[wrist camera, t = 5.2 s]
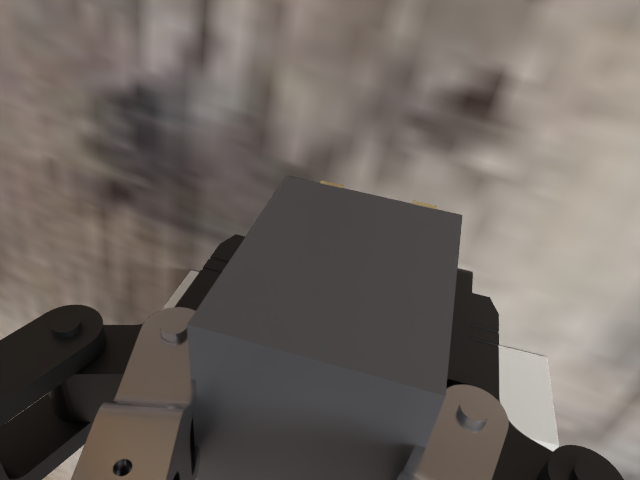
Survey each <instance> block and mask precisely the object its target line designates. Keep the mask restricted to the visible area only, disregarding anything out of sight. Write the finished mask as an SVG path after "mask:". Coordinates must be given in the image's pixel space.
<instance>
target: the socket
mask: <svg viewBox="0 0 640 480" xmlns="http://www.w3.org/2000/svg"><path fill="white" fill-rule="evenodd" d="M198 274H199V272H196V271H192V270H191V271H190V272H189V273H188V275H187V276H186V278H185V279H184V280H183V282H182V283H181V284H180V286H179V287H178V288H177V290H176V291H175V292H174V294H173V295H172V296H171V298H170V299H169V300H168V302H167V303H166V304H165V306H164V307H163V308H162V310H163V309H167V308H172V307H175V305H176V304H177V303H178V301H179V300H180V298H181V297H182V296H183V294H184V293H185V292H186V290H187V289H188V287H189V286H190V285H191V283H192V282H193V280H194V279H195V278H196V276H197V275H198ZM498 347H499V398H500V404H501V405H502V406H503V408H504V409H505V411H506V414H507V417H508V420H509V421H510V422H511V423H512V424H513V425H514V426H515V427H516V428H517V429H518V430H519V431H520V432H521V433H523V434H524V435H526V436H527V437H529V438H530V439H532V440H534V441H535V442H537V443H539V444H541V445H542V446H544V447H546V448H548V449H549V450H551V451H554V450H555V449H557V448H558V447H559V442H558V434H557V427H556V419H555V411H554V404H553V396H552V389H551V381H550V374H549V366H548V358H547V357H544V356H540V355H536V354H532V353H528V352H524V351H520V350H516V349H512V348H507V347H503V346H499V345H498ZM196 480H197V479H196Z"/></svg>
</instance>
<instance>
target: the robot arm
mask: <svg viewBox="0 0 640 480" xmlns="http://www.w3.org/2000/svg"><path fill="white" fill-rule="evenodd" d="M244 238H245V237H244V236H240V235H234V236H232V237H231V238H229V239H227V240H226V241H224V242H222V243H221V244H220V245H219V246H218V247H217V249H216V250H215V251H214V253H213V254H212V256H211V258H210V259H209V260H208V261H207V263H206V264H205V265H204V267H203V270H201V271H200V272H199V274H198V275H197V276H196V278H195V279H194V280H193V282H192V283H191V285H190V286H189V287H188V289H187V290H186V292H185V293H184V294H183V296H182V297H181V298H180V300H179V301H178V303H177V304H176V305H175V307H172V308H167V309H163V310H160V311H158V312H156V313H154V314H152V315H151V316H150V317H149V318H147V319H146V321H145V322H144V323H143V324H141V325H103V320H102V317H101V315H100V314H99V313H98V312H97V311H96V310H94V309H93V308H90V307H88V306H83V305H67V306H62V307H59V308H56V309H53V310H51V311H49V312H47V313H45V314H44V315H42V316H40V317H39V318H37V319H35V320H34V321H32V322H30V323H28V324H27V325H25V326H23V327H22V328H20V329H18V330H17V331H15V332H13V333H12V334H10V335H8V336H7V337H5V338H3V339H2V340H0V480H42V479H43V478H44V477H46V476H47V475H48V474H49V473H50V472H52V471H53V470H54V469H55V468H56V467H58V466H59V465H60V464H61V463H62V462H64V461H65V460H66V459H67V458H69V457H70V456H71V455H72V454H73V453H75V452H76V451H77V450H78V449H79V448H81V447H82V446H83V445H84V444H85V445H84V448H83V450H82V453H81V455H80V458H79V460H78V463H77V465H76V468H75V471H74V473H73V476H72V478H71V480H196V479H197V474H198V469H199V464H200V447H199V446H196V445H195V443H194V427H193V412H194V408H195V404H196V399H197V388H196V380H193V379H190V364H189V348H188V332H187V324H188V322H189V321H190V319H191V318H192V316H193V315H194V313H195V312H196V310H197V309H198V307H199V306H200V304H201V303H202V301H203V300H204V298H205V297H206V295H207V294H208V292H209V291H210V289H211V288H212V286H213V285H214V283H215V282H216V280H217V279H218V277H219V276H220V274H221V273H222V271H223V270H224V268H225V267H226V265H227V264H228V262H229V261H230V259H231V258H232V256H233V255H234V253H235V252H236V250H237V249H238V247H239V246H240V244H241V243H242V241H243V240H244ZM472 279H473V273H472V272H471V271H467V270H463V269H459V268H457V278H456V289H455V300H454V311H453V321H452V332H451V343H450V354H449V365H448V376H447V386H446V396H445V399H444V402H443V404H442V407H441V409H440V412H439V415H438V417H437V420H436V422H435V425H434V428H433V430H432V433H431V436H430V438H429V441H428V443H427V446H426V448H425V447H421V446H418V445H416V446H415V448H414V450H413V452H412V454H411V456H410V458H409V460H408V462H407V464H406V466H405V468H404V470H403V472H402V471H401V473H400V474H399V476H398V478H397V480H624V479H623V478H622V476H621V475H620V473H619V472H618V471H617V469H616V468H615V467H614V466H613V465H612V464H611V463H610V462H609V461H608V460H606V459H605V458H604V457H603V456H601V455H599V454H598V453H596V452H594V451H592V450H590V449H587V448H585V447H581V446H577V445H565V446H562V447H559V448H557V449H555V450H554V451H551V450H549V449H548V448H546V447H544V446H542V445H541V444H539V443H537V442H535V441H534V440H532V439H530V438H529V437H527V436H526V435H524V434H523V433H521V432H520V431H519V430H518V429H517V428H516V427H515V426H514V425H513V424H512V423H511V422H510V421H509V420H508V417H507V414H506V411H505V409H504V408H503V406H502V405H501V404H500V398H499V347H498V345H499V334H498V331H499V314H498V312H497V310H496V308H495V306H494V305H493V303H492V301H491V299H490V297H486V296H482V295H478V294H474V293H472ZM47 393H48V394H47ZM44 395H45V396H44ZM43 396H44V397H43ZM40 398H41V399H40ZM37 400H38V401H37ZM36 401H37V402H36ZM33 403H34V404H33ZM30 405H31V406H30ZM29 406H30V407H29ZM26 408H27V409H26ZM23 410H24V411H23ZM22 411H23V412H22ZM20 412H21V413H20ZM19 413H20V414H19ZM16 415H17V416H16ZM15 416H16V417H15ZM13 417H14V418H13ZM12 418H13V419H12ZM9 420H10V421H9ZM8 421H9V422H8ZM5 423H6V424H5Z"/></svg>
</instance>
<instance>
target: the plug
mask: <svg viewBox="0 0 640 480" xmlns="http://www.w3.org/2000/svg"><path fill="white" fill-rule="evenodd" d="M436 208H437V206H434V205H430V204H425V203H421V202H416V201H413V203H412V204H411V203H406V202H402V201H397V200H393V199H388V198H384V197H380V196H375V195H371V194H366V193H362V192H357V191H353V190H348V189H344V188H343V185H341V184H336V183H332V182H327V181H323V180H321V181H320V183H317V182H313V181H309V180H304V179H300V178H295V177H291V176H286V177H285V179H284V180H283V182H282V183H281V185H280V186H279V188H278V189H277V191H276V192H275V194H274V195H273V197H272V198H271V200H270V201H269V202H268V204H267V205H266V207H265V208H264V210H263V211H262V213H261V214H260V216H259V217H258V219H257V220H256V222H255V223H254V225H253V226H252V228H251V229H250V231H249V232H248V234H247V235H246V237H245V238H244V240H243V241H242V243H241V244H240V246H239V247H238V249H237V250H236V252H235V253H234V255H233V256H232V258H231V259H230V261H229V262H228V264H227V265H226V267H225V268H224V270H223V271H222V273H221V274H220V276H219V277H218V279H217V280H216V282H215V283H214V285H213V286H212V288H211V289H210V291H209V292H208V294H207V295H206V297H205V298H204V300H203V301H202V303H201V304H200V306H199V307H198V309H197V310H196V312H195V313H194V315H193V316H192V318H191V319H190V321H189V322H188V324H187V332H188V348H189V364H190V379H193V380H196V388H197V399H196V404H195V408H194V412H193V427H194V443H195V445H196V446H199V447H200V464H199V469H198V474H197V480H397V478H398V476H399V474H400V473H401V471H402V472H403V470H404V468H405V466H406V464H407V462H408V460H409V458H410V456H411V454H412V452H413V450H414V448H415V446H416V445H418V446H421V447H425V448H426V446H427V443H428V441H429V438H430V436H431V433H432V430H433V428H434V425H435V422H436V420H437V417H438V415H439V412H440V409H441V407H442V404H443V402H444V399H445V396H446V386H447V376H448V365H449V354H450V343H451V332H452V321H453V311H454V300H455V289H456V278H457V267H458V256H459V246H460V235H461V224H462V215H459V214H455V213H450V212H446V211H442V210H437V209H436Z"/></svg>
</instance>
